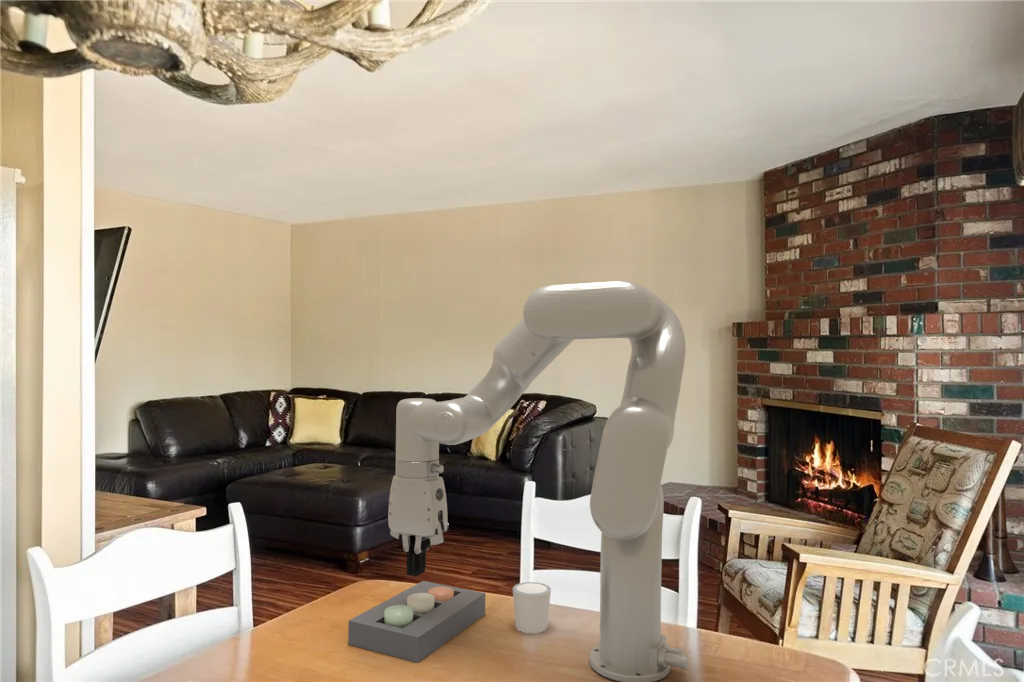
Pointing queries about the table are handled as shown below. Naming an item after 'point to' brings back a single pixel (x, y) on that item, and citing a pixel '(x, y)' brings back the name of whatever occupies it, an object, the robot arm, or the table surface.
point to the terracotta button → (442, 593)
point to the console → (416, 624)
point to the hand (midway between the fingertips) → (415, 573)
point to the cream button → (421, 602)
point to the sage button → (398, 615)
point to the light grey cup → (531, 606)
